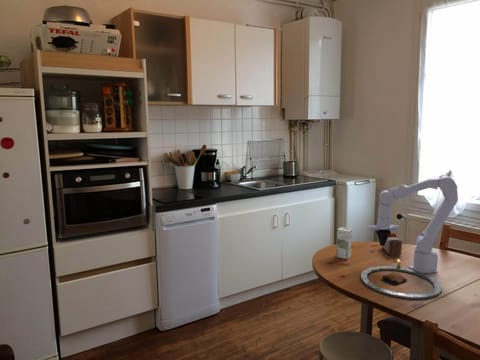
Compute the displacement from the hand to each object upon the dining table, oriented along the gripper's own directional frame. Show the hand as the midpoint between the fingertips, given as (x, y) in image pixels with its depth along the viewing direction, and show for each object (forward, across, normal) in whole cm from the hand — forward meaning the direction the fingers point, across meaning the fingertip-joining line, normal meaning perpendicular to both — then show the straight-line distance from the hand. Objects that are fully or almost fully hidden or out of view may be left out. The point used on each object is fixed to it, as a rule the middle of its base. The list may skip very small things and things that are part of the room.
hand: (382, 245), depth 183 cm
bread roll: (+10, +4, +17) cm, 20 cm away
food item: (+10, -15, -16) cm, 24 cm away
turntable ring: (+9, +2, +18) cm, 20 cm away
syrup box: (+10, +13, -12) cm, 20 cm away
